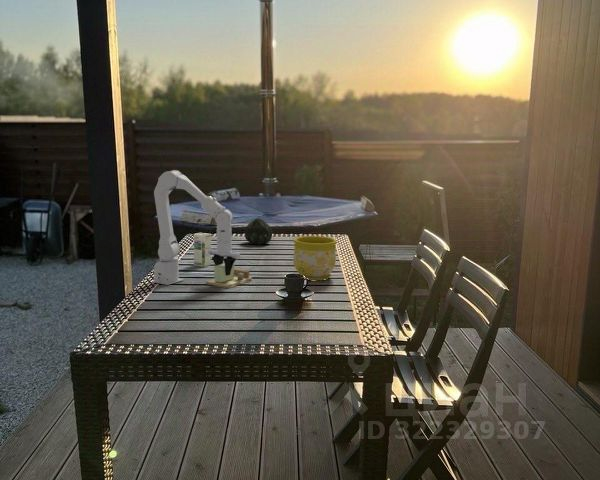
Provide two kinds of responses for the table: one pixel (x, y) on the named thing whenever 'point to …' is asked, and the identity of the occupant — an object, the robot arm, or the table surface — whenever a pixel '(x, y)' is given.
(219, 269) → the block
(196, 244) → the printed cardboard box
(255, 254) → the table surface
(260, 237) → the squash
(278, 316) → the table surface
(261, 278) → the table surface
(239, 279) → the board
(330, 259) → the flowerpot
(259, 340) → the table surface
